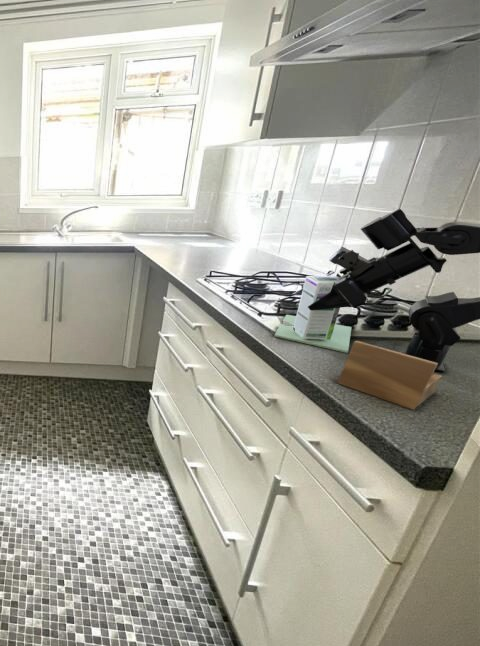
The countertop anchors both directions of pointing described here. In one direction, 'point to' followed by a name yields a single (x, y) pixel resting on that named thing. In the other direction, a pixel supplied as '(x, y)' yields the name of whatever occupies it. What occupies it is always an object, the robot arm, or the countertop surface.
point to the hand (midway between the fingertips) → (310, 304)
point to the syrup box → (316, 321)
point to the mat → (336, 342)
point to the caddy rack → (389, 375)
